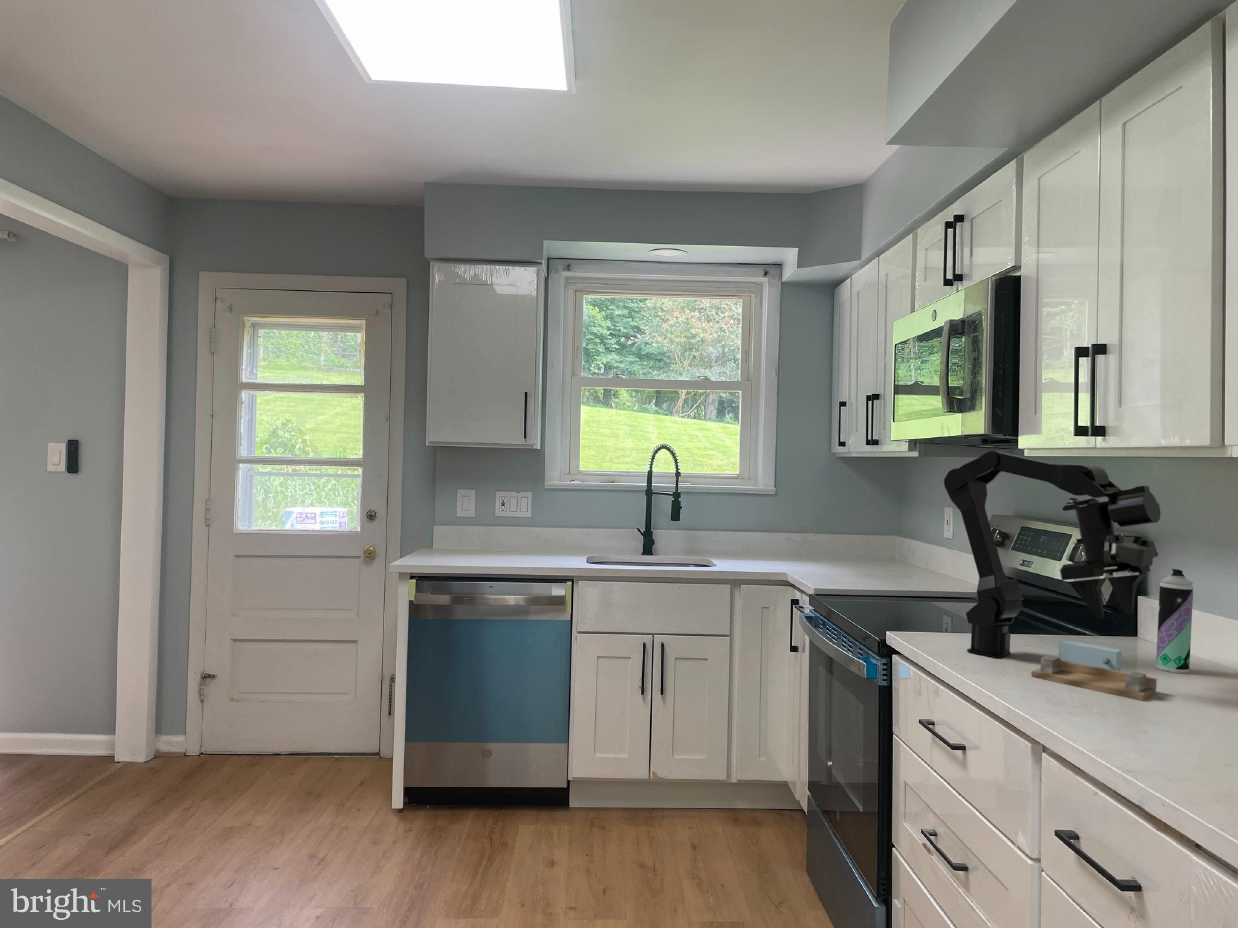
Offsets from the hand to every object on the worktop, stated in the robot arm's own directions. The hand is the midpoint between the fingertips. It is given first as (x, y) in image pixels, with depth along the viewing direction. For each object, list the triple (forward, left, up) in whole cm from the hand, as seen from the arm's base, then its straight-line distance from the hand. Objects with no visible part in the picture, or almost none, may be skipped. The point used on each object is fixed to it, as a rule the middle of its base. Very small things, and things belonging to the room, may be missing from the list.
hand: (1115, 615), depth 150 cm
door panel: (-6, +7, -13) cm, 15 cm away
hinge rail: (-2, -4, -12) cm, 13 cm away
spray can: (+4, +23, -13) cm, 26 cm away
